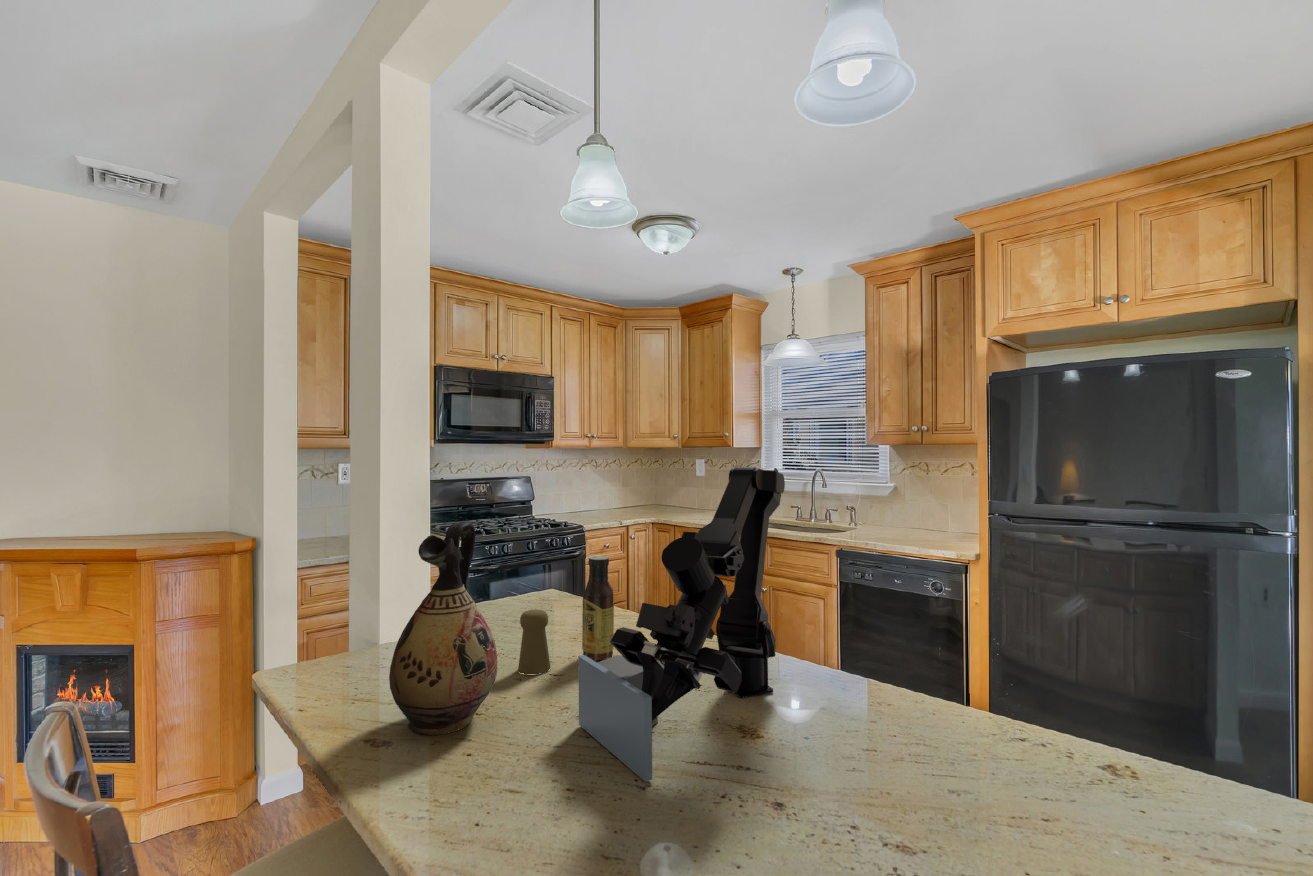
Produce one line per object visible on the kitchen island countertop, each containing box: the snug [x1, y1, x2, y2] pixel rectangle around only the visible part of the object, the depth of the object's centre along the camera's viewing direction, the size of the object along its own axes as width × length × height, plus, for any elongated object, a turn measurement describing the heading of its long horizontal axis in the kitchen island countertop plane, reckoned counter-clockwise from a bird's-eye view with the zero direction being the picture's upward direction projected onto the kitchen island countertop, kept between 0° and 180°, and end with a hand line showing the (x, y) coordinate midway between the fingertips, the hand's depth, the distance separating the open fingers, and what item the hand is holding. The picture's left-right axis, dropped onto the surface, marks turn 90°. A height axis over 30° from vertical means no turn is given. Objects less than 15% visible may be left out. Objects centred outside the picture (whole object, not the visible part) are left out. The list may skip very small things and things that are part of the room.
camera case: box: [597, 654, 659, 727], centre depth 91 cm, size 7×8×8 cm
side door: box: [577, 654, 653, 783], centre depth 82 cm, size 1×19×10 cm, turn 32°
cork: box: [517, 608, 551, 674], centre depth 115 cm, size 6×6×11 cm
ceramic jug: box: [388, 520, 498, 737], centre depth 94 cm, size 17×15×30 cm
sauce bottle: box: [581, 555, 615, 662], centre depth 122 cm, size 7×6×20 cm
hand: (644, 718), depth 77 cm, fingers closed
